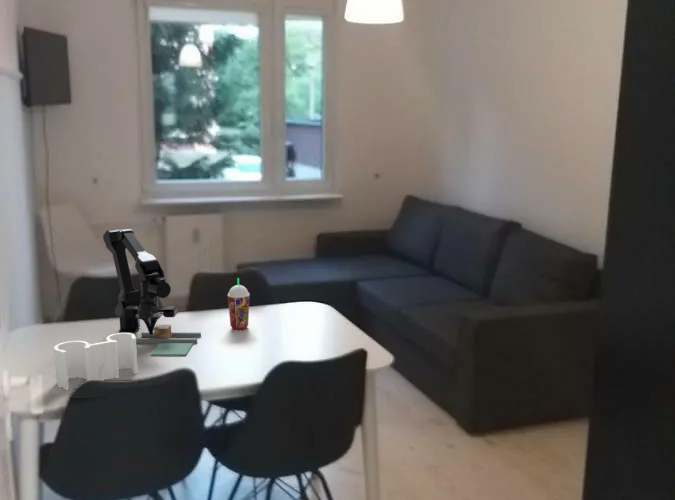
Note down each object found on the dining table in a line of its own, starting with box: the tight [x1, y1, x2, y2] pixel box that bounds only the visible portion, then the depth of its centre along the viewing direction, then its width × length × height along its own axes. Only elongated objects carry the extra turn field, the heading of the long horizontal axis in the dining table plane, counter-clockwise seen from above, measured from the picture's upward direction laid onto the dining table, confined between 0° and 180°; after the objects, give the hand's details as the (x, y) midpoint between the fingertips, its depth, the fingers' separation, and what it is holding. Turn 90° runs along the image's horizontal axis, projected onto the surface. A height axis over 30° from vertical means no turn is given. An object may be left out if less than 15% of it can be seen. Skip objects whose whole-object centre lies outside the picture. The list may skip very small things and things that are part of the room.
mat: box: [150, 343, 194, 357], centre depth 262 cm, size 12×12×1 cm
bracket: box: [53, 332, 139, 390], centre depth 235 cm, size 25×10×12 cm, turn 125°
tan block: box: [153, 324, 172, 338], centre depth 273 cm, size 5×5×5 cm
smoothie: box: [227, 277, 250, 332], centre depth 285 cm, size 8×8×20 cm
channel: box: [136, 331, 202, 344], centre depth 274 cm, size 22×8×2 cm, turn 89°
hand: (151, 334), depth 273 cm, fingers closed
